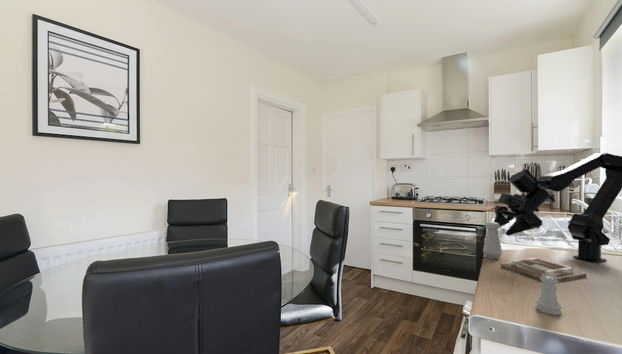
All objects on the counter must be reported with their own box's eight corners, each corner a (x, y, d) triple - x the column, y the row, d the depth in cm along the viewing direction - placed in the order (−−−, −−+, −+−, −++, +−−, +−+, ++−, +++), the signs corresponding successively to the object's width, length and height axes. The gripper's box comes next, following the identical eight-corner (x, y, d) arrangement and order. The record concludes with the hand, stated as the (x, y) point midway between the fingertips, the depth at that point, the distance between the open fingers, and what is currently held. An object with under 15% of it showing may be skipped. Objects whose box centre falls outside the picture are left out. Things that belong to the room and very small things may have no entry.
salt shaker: (496, 255, 105) (496, 220, 105) (505, 260, 100) (505, 223, 99) (479, 255, 106) (480, 220, 106) (487, 259, 100) (488, 223, 100)
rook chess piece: (530, 306, 65) (531, 272, 65) (548, 306, 66) (548, 271, 65) (548, 316, 61) (548, 279, 61) (567, 315, 61) (568, 279, 61)
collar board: (536, 262, 97) (536, 255, 97) (586, 277, 83) (586, 268, 83) (501, 267, 92) (501, 259, 92) (548, 283, 79) (548, 274, 79)
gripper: (499, 184, 111) (469, 212, 112) (533, 187, 92) (497, 220, 93) (519, 205, 111) (490, 232, 112) (558, 211, 92) (522, 244, 93)
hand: (498, 231), depth 102 cm, fingers open, 9 cm apart
